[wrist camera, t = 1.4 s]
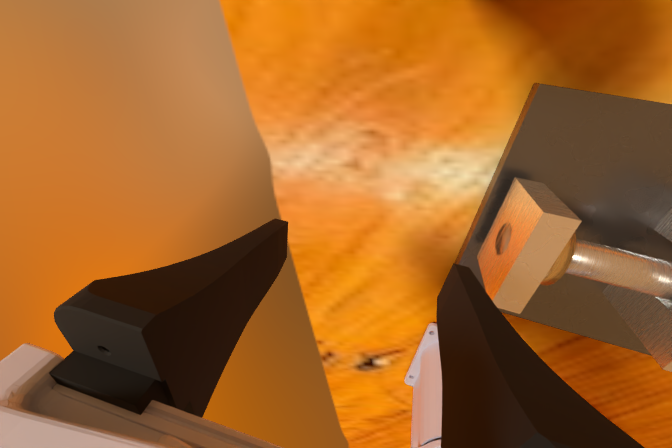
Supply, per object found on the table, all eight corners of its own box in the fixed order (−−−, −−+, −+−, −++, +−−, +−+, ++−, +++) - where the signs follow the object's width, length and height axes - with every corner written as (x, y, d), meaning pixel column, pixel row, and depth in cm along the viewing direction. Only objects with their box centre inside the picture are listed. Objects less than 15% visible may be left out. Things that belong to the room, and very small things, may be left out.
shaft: (696, 313, 18) (779, 389, 14) (476, 256, 20) (489, 305, 16) (785, 234, 15) (926, 299, 11) (514, 177, 17) (543, 212, 13)
